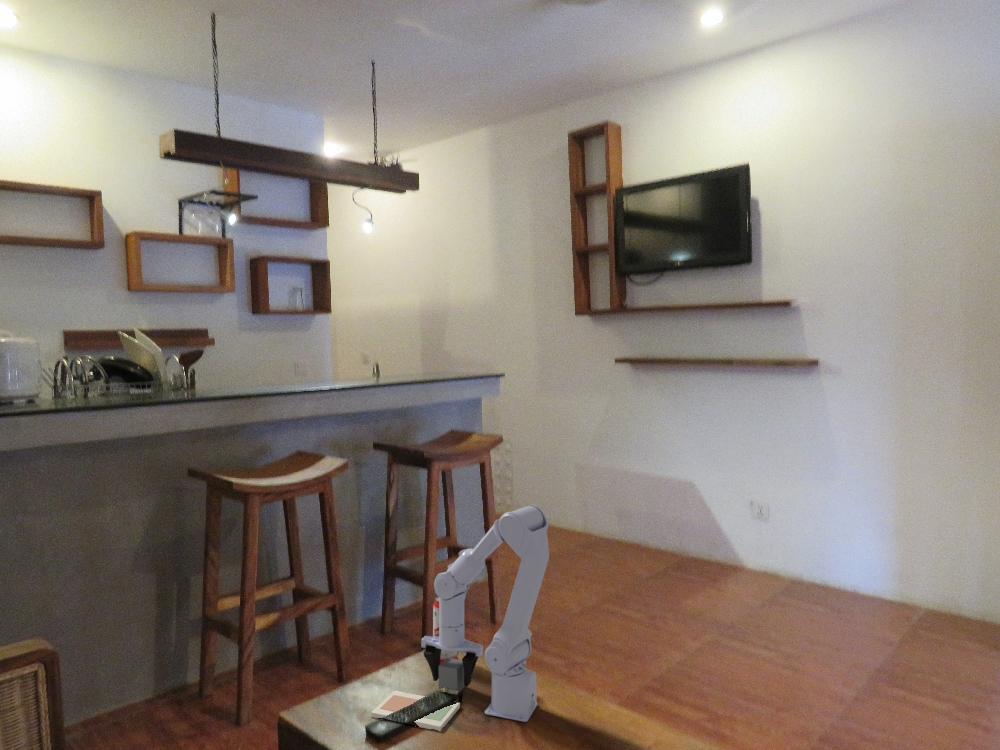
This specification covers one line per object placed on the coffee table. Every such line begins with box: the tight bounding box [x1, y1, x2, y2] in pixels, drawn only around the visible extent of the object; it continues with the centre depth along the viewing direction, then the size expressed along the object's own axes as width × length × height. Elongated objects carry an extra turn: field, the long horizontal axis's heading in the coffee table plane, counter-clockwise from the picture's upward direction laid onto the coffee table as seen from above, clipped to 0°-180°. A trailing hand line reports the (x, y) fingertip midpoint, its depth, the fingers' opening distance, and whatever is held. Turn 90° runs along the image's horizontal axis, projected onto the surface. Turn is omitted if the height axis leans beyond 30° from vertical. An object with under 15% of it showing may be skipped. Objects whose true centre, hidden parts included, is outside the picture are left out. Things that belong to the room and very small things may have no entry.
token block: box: [438, 658, 466, 692], centre depth 158 cm, size 4×4×6 cm
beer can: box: [432, 595, 459, 664], centre depth 171 cm, size 6×6×16 cm
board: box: [370, 690, 461, 732], centre depth 147 cm, size 16×10×1 cm, turn 70°
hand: (451, 681), depth 158 cm, fingers open, 7 cm apart
